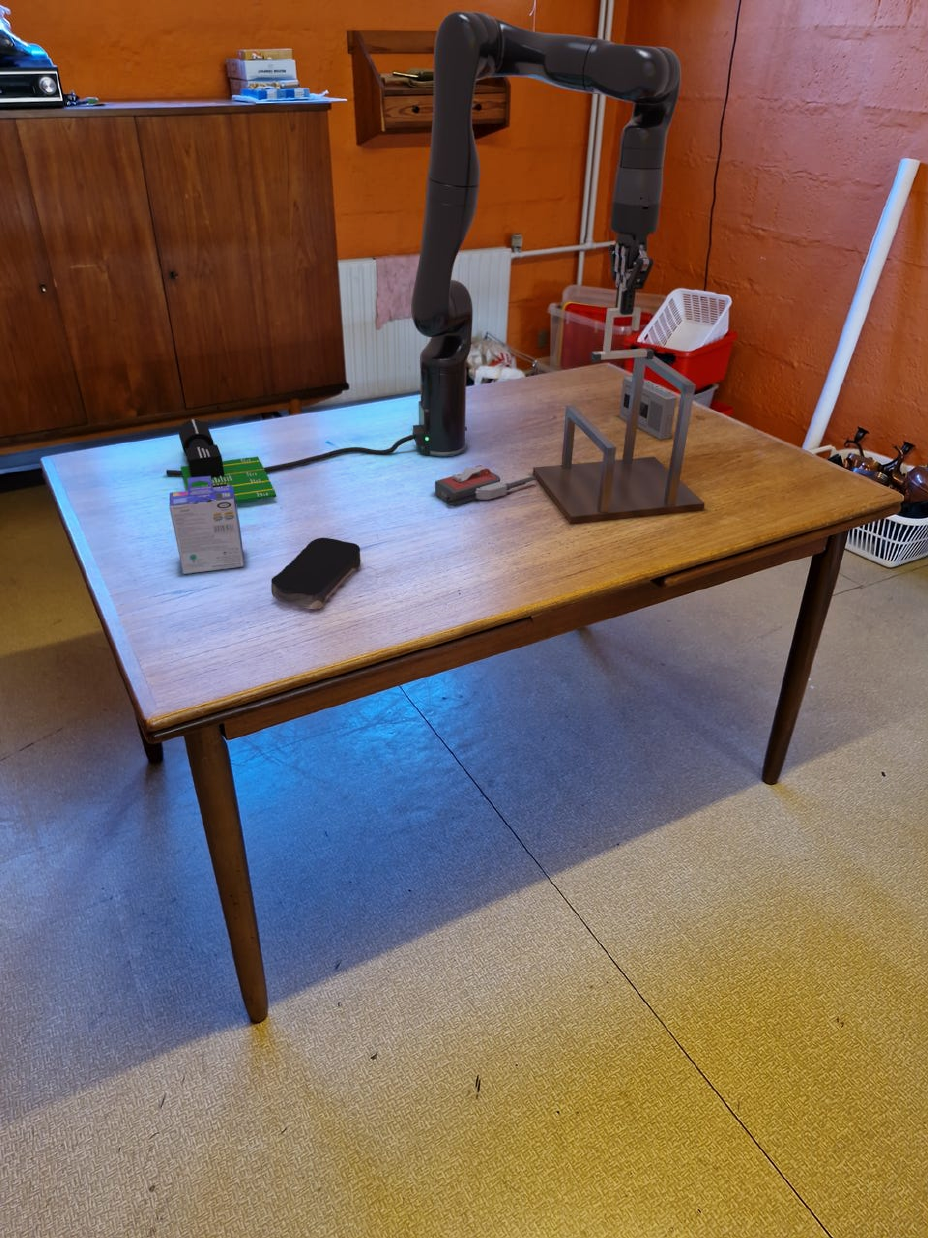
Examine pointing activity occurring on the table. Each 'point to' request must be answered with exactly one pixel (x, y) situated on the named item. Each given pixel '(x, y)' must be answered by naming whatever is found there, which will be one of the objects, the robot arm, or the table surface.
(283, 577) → the black sponge
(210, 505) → the ink cartridge box
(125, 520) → the table surface
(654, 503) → the rack
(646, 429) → the cassette player
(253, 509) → the table surface
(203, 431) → the electronic board model
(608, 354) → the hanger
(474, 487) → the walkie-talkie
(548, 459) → the table surface
